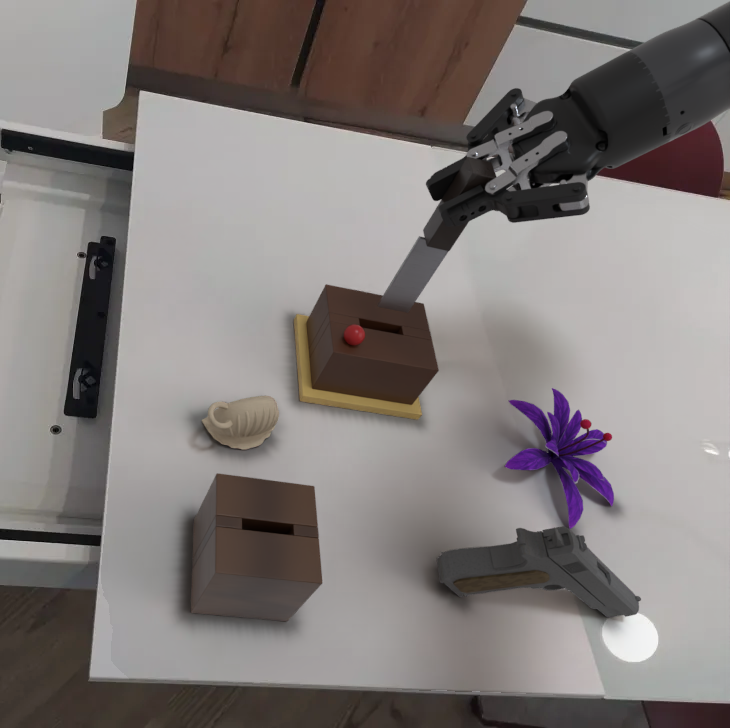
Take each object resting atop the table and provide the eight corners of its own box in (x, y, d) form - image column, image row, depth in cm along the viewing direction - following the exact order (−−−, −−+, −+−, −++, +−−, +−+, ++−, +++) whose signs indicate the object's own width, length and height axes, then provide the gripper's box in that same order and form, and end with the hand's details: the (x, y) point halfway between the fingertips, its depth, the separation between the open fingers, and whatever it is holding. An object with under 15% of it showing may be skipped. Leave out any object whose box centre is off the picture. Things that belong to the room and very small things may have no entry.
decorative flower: (528, 367, 82) (579, 338, 76) (624, 470, 81) (683, 449, 75) (472, 443, 74) (524, 417, 68) (577, 557, 73) (640, 542, 67)
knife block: (283, 530, 64) (314, 485, 58) (287, 621, 59) (323, 583, 53) (193, 519, 62) (216, 472, 56) (190, 613, 57) (215, 572, 51)
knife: (406, 303, 72) (497, 163, 60) (409, 320, 71) (503, 180, 58) (376, 297, 72) (461, 154, 59) (378, 314, 70) (467, 171, 58)
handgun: (427, 549, 64) (564, 508, 58) (517, 613, 74) (642, 584, 68) (431, 580, 62) (573, 542, 56) (523, 641, 72) (651, 614, 66)
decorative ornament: (281, 443, 70) (299, 411, 66) (199, 457, 66) (213, 425, 62) (266, 408, 72) (283, 375, 68) (185, 420, 68) (199, 386, 64)
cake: (402, 339, 83) (439, 286, 77) (418, 420, 77) (459, 369, 70) (293, 319, 81) (321, 262, 74) (299, 401, 74) (331, 346, 67)
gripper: (602, 8, 57) (395, 122, 62) (698, 117, 49) (452, 238, 54) (611, 79, 63) (422, 178, 68) (699, 187, 55) (476, 290, 60)
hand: (436, 204), depth 61 cm, fingers closed on knife, 2 cm apart
